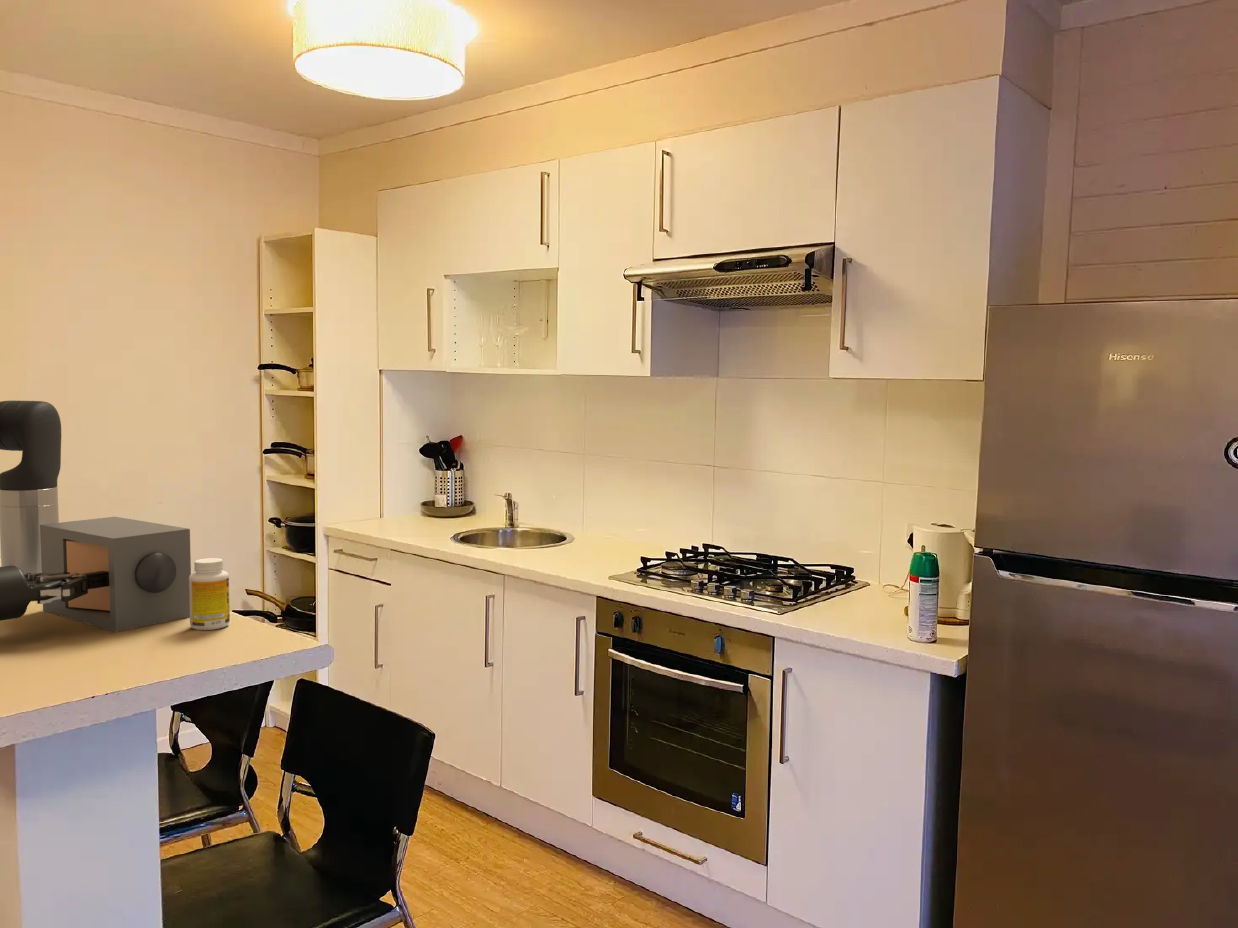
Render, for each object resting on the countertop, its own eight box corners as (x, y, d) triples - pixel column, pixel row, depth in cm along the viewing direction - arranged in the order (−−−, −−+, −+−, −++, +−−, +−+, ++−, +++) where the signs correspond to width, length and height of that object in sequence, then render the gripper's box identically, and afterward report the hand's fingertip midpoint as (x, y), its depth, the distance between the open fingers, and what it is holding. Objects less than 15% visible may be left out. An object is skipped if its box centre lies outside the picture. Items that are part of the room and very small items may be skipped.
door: (65, 607, 144) (63, 541, 143) (73, 605, 146) (71, 540, 145) (130, 613, 141) (128, 546, 140) (138, 611, 142) (136, 544, 142)
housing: (43, 610, 149) (39, 524, 148) (117, 597, 159) (115, 516, 158) (119, 633, 137) (116, 539, 135) (195, 617, 147) (193, 529, 145)
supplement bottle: (234, 627, 141) (233, 561, 140) (195, 633, 137) (194, 565, 136) (223, 620, 145) (222, 555, 144) (185, 625, 141) (184, 559, 141)
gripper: (1, 575, 124) (131, 558, 138) (-41, 564, 131) (86, 549, 145) (3, 631, 124) (132, 608, 139) (-39, 616, 132) (87, 596, 146)
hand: (108, 577), depth 142 cm, fingers closed
